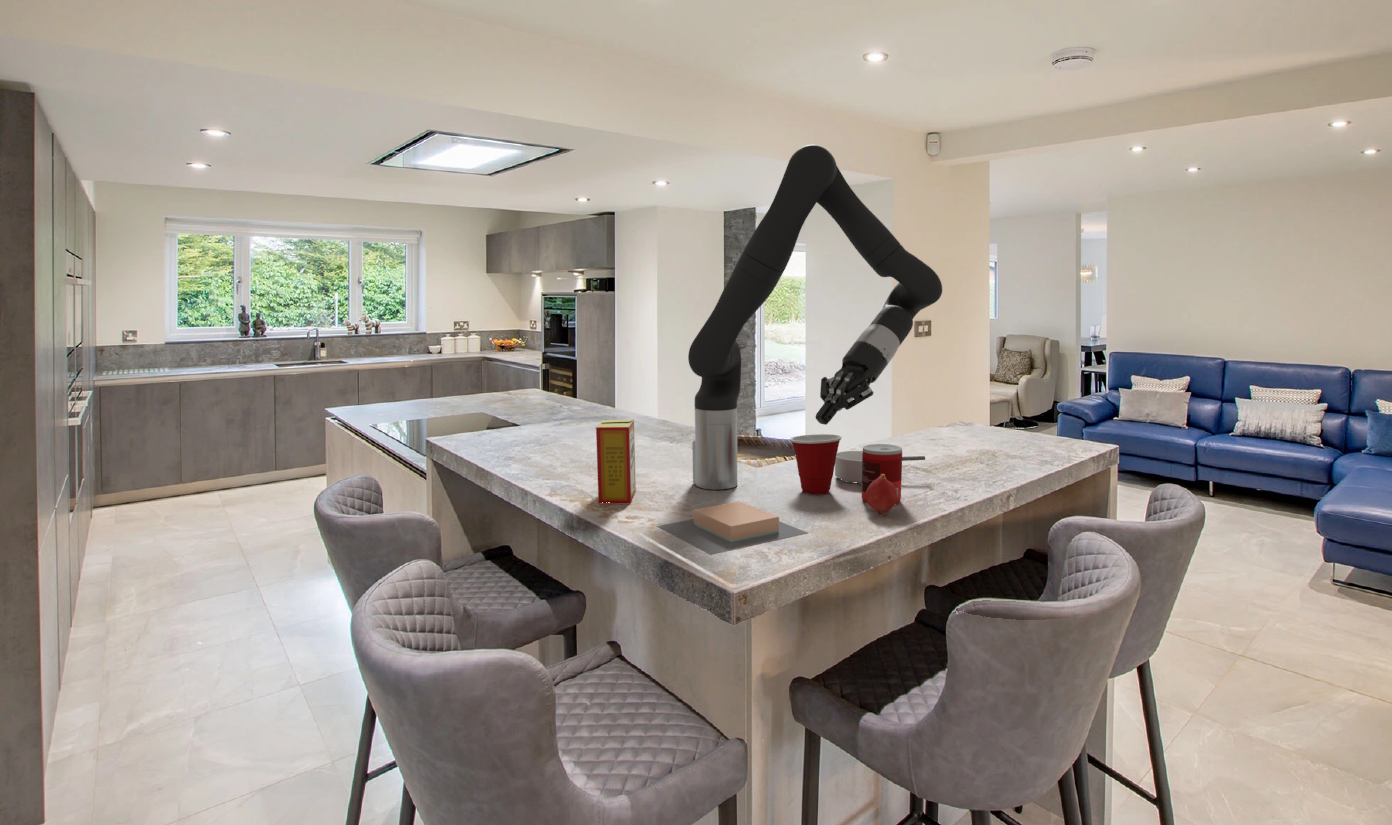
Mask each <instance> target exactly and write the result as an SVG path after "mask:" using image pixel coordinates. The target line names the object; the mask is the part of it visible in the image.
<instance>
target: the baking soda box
mask: <svg viewBox="0 0 1392 825" xmlns="http://www.w3.org/2000/svg"><path fill="white" fill-rule="evenodd" d="M595 433H596V434H595V435H596V436H595V437H596V440H595V441H596V462H597V465H596V467H597V470H596V471H597V495H598V498H597V500H598V504H599V503H602V502H603V503H606V502H607V503H608V502H610V503H631V504H632V502H633V500H634V496H635V494H636V492H637V491H636V490H637V488H636V455H635V454H636V451H635V419H602V420H601V422H599V424H598V425H597V426H596V427H595ZM632 499H633V500H632Z"/></svg>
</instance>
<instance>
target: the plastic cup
mask: <svg viewBox="0 0 1392 825" xmlns="http://www.w3.org/2000/svg"><path fill="white" fill-rule="evenodd" d="M841 440H842V435H839V434H833V433H832V434H831V433H829V434H827V433H826V434H825V433H821V434H819V433H818V434H803V435H798V436H793V437H790V438H789V441H790V443H791V444H792V447H793V450H794V453H795V459H796V465H797V471H798V476H799V481H800V488H801V491H802V493H804V494H807V495H814V496H819V495H820V496H823V495H827V494H829V493H830V490H831V486H832V480H833V477H834V473H835V461H836V455H837V452H839V451H838V449H839V446H840V445H839V444H840V441H841Z"/></svg>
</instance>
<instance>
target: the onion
mask: <svg viewBox="0 0 1392 825" xmlns="http://www.w3.org/2000/svg"><path fill="white" fill-rule="evenodd" d="M865 497H866V502H867V503H868V504H867V505H868V506H869V507H870V509H871V510H872V511H874V512H875V513H877V514H878V516H884V515H886V514H887V513H888V512H889V511H890V510H892V509H893V508H894V507H895V506H896V505H897V504H896V503H897V499H898V495H897V491H896V489H895V487H894V485H893V484H892V483H891V482H890V481H888V480H887V479H886V477H885V474H881V476H880V477H878V478H877V479H875V480H874V481H873V482H872V483H871V484H870V485H869V487H868V488H867V491H866V495H865ZM895 504H896V505H895Z"/></svg>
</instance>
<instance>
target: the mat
mask: <svg viewBox="0 0 1392 825" xmlns="http://www.w3.org/2000/svg"><path fill="white" fill-rule="evenodd" d="M657 527H658V528H660V529H661V530H663V531H665V532H667V533H668V534H671V535H672V536H674V537H676V538H678V539H680V540H682V541H684V542H686V543H688V544H690V545H691V546H693V547H695V548H697V549H699V550H701V551H703V552H705V553H706V554H707V555H710V556H712V555H715V554H720V553H724V552H725V553H726V552H730V551H734V550H739V549H742V548H747V547H753V546H755V545H756V546H757V545H761V544H765V543H770V542H774V541H775V542H776V541H779V540H784V539H787V538H792V537H793V538H794V537H797V536H801V535H806V534H809V532H808V531H805V530H802V529H800V528H797V527H795V526H793V525H790V524H787V523H785V522H782V521H780V520H779V533H774V534H769V535H765V536H760V537H755V538H751V539H746V540H741V541H737V542H732V543H731V542H728V541H726V540H724V539H722V538H720V537H718V536H716V535H714V534H712V533H710V532H708V531H706V530H704V529H701V528H699V527H697V526H695V525H694V520H693V518H692V519H686V520H682V521H677V522H670V523H665V524H661V525H660V524H659V525H657V526H656V528H657Z"/></svg>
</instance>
